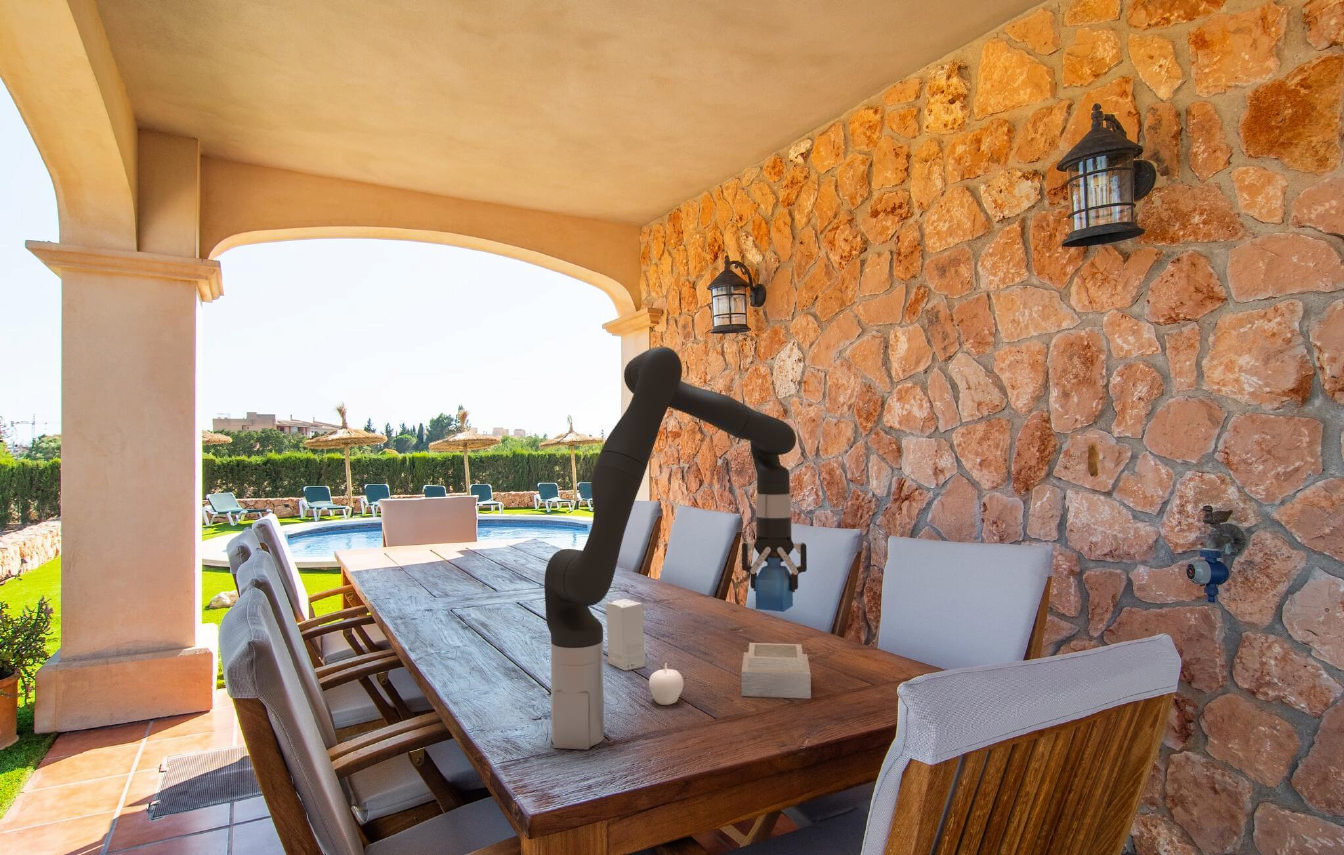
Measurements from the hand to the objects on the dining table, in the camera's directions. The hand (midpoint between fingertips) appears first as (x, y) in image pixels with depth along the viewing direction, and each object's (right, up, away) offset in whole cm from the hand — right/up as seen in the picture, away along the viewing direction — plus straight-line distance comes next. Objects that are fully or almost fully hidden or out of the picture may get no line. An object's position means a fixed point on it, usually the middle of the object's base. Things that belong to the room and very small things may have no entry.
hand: (774, 591), depth 156 cm
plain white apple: (-23, -21, -9) cm, 32 cm away
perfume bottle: (0, -4, 0) cm, 4 cm away
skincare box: (-33, -21, +15) cm, 42 cm away
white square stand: (0, -20, 0) cm, 20 cm away
